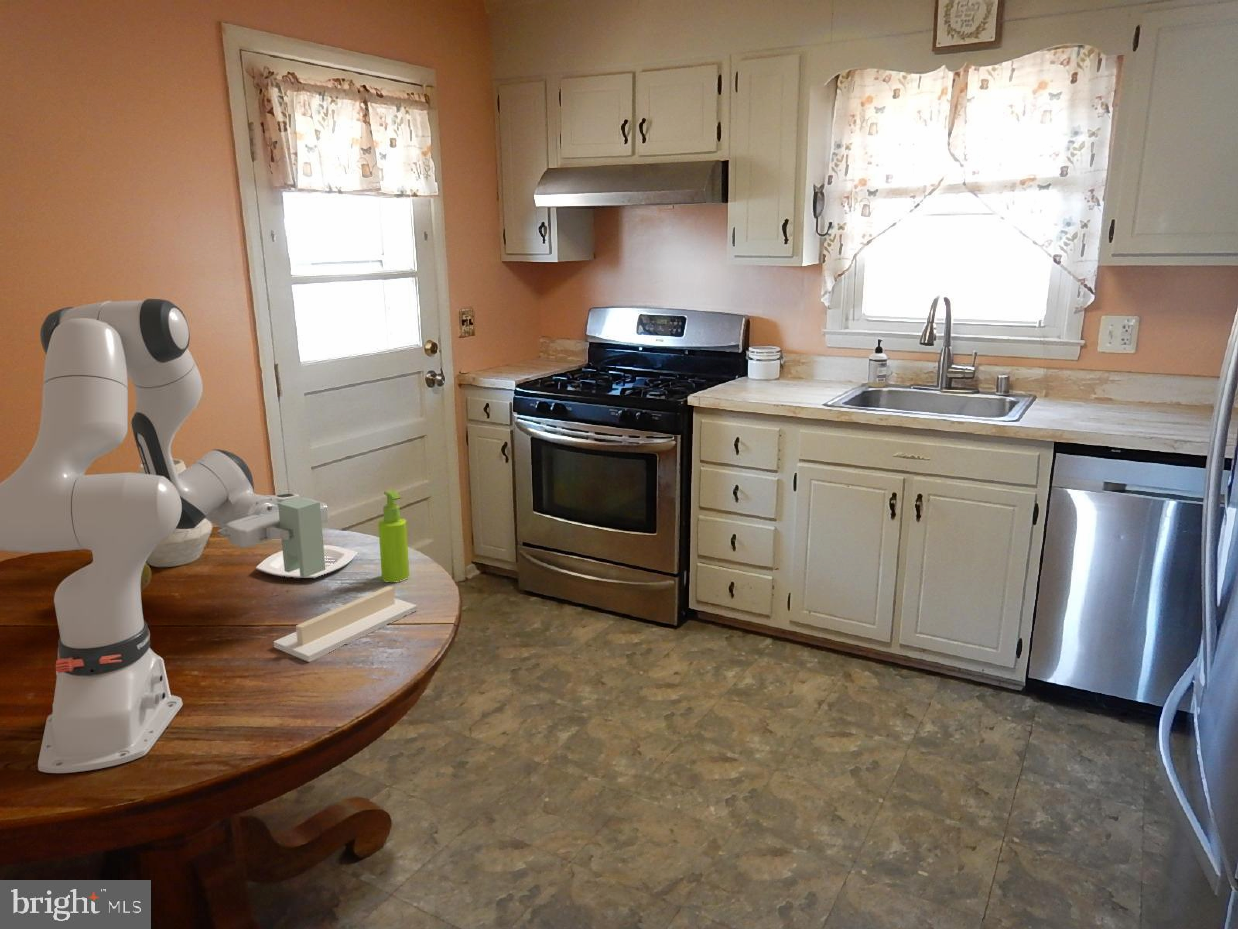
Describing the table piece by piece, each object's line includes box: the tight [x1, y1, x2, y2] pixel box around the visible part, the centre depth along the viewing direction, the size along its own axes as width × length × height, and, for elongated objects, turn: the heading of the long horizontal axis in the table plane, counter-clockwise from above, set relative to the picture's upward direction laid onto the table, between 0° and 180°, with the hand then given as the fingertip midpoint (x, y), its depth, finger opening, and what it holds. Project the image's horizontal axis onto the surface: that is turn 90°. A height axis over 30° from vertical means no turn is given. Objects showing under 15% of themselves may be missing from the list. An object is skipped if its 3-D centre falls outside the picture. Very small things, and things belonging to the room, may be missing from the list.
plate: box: [255, 544, 358, 579], centre depth 195 cm, size 19×19×2 cm
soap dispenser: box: [377, 489, 410, 583], centre depth 186 cm, size 6×7×20 cm
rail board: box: [273, 585, 418, 663], centre depth 164 cm, size 26×10×5 cm, turn 147°
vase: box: [138, 458, 213, 568], centre depth 196 cm, size 18×17×23 cm
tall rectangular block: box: [278, 496, 326, 578], centre depth 167 cm, size 5×6×14 cm
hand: (304, 530), depth 166 cm, fingers closed on tall rectangular block, 5 cm apart
